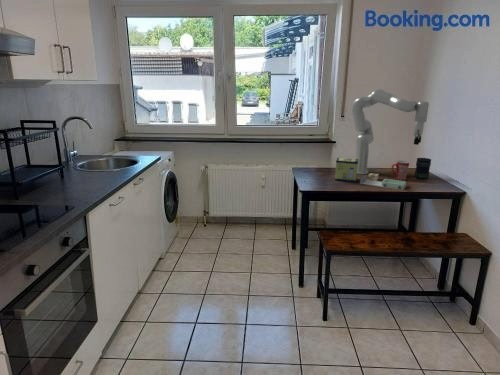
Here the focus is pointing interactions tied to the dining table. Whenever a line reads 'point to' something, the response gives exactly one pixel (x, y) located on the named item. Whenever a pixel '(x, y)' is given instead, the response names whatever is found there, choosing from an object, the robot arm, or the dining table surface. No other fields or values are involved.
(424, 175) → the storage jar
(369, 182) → the track
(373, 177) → the beige square block
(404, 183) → the cart
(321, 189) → the dining table surface
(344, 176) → the protein box
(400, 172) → the mug
